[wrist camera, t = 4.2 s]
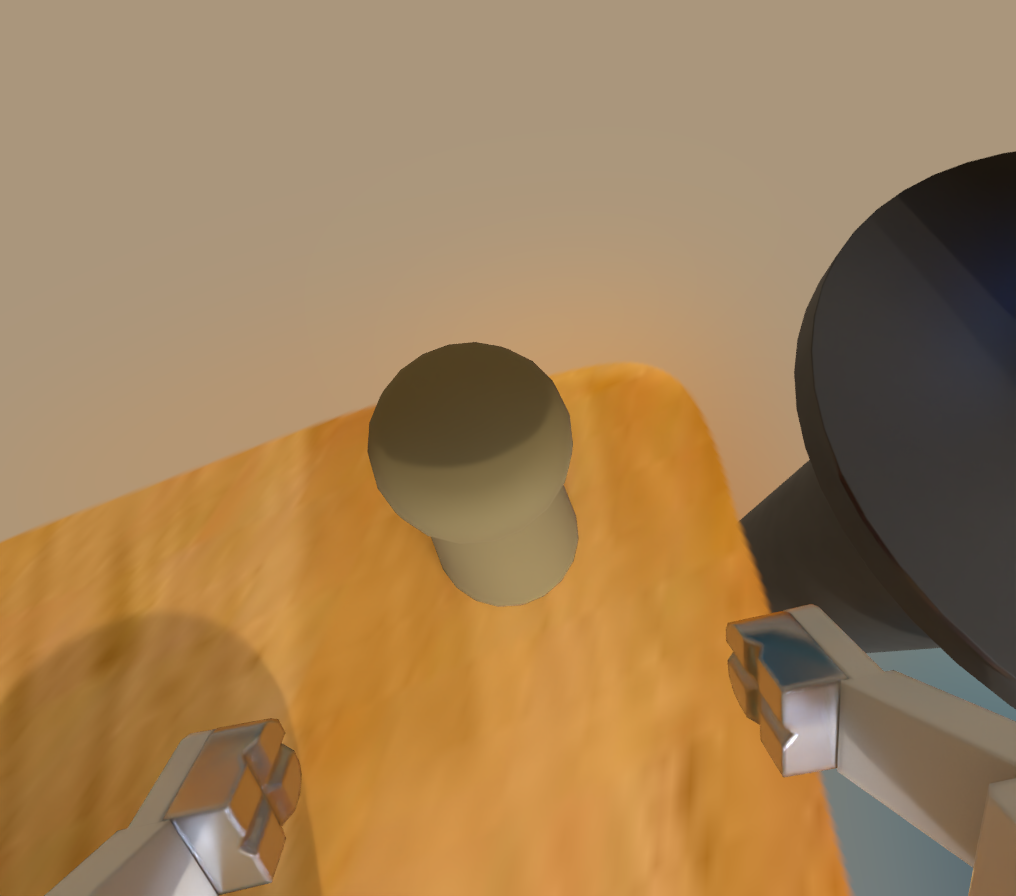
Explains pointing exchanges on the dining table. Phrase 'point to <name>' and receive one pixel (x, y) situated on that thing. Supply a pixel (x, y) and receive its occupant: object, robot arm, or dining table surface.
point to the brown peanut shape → (480, 468)
